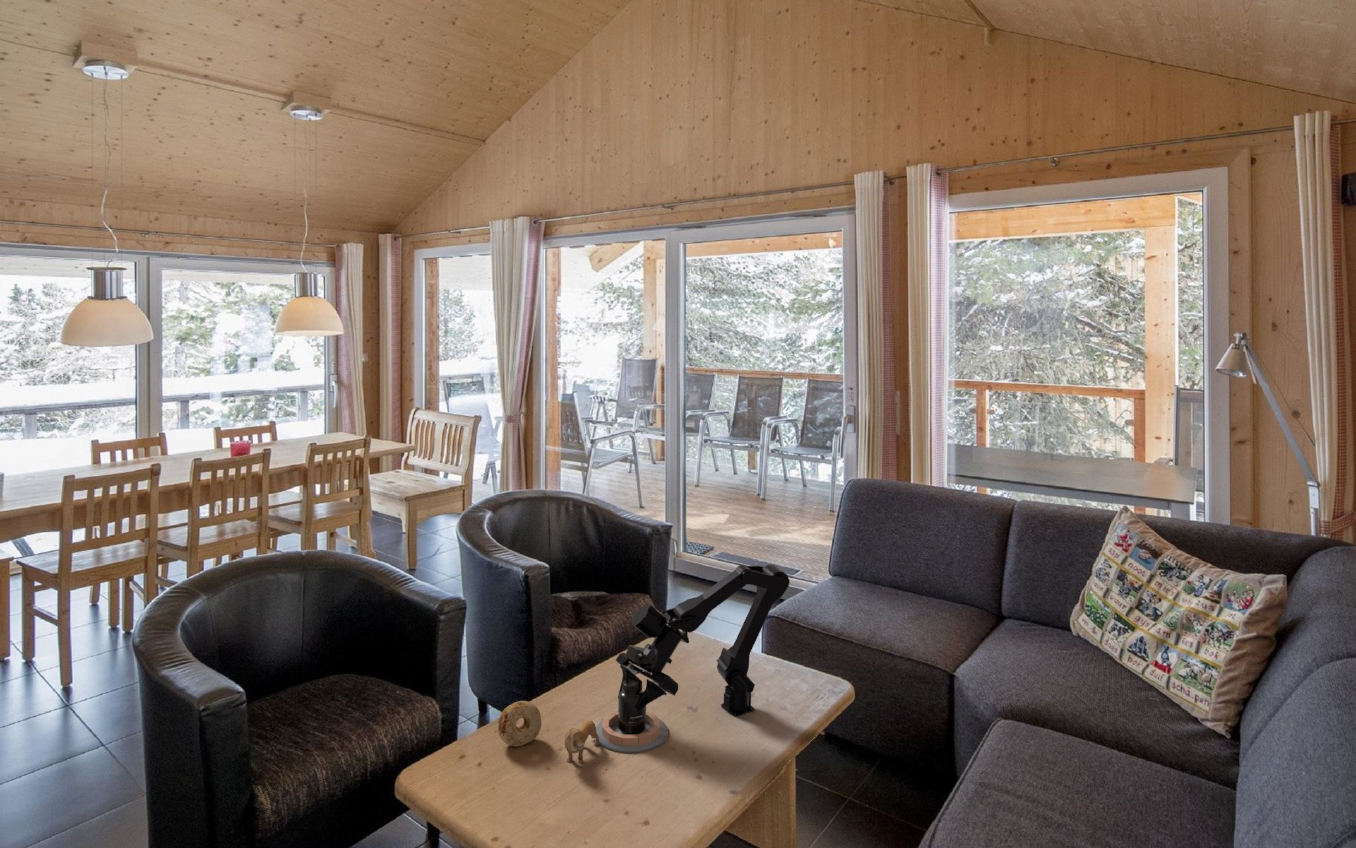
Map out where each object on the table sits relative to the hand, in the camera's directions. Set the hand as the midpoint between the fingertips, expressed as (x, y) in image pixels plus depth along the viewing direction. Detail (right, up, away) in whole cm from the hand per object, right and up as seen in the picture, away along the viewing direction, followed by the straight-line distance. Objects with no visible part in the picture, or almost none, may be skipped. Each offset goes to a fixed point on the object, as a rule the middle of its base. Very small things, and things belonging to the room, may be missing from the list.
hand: (627, 704), depth 195 cm
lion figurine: (-10, -9, -8) cm, 16 cm away
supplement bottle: (+1, -7, +2) cm, 7 cm away
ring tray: (+1, -8, +2) cm, 8 cm away
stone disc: (-25, -8, -4) cm, 27 cm away
